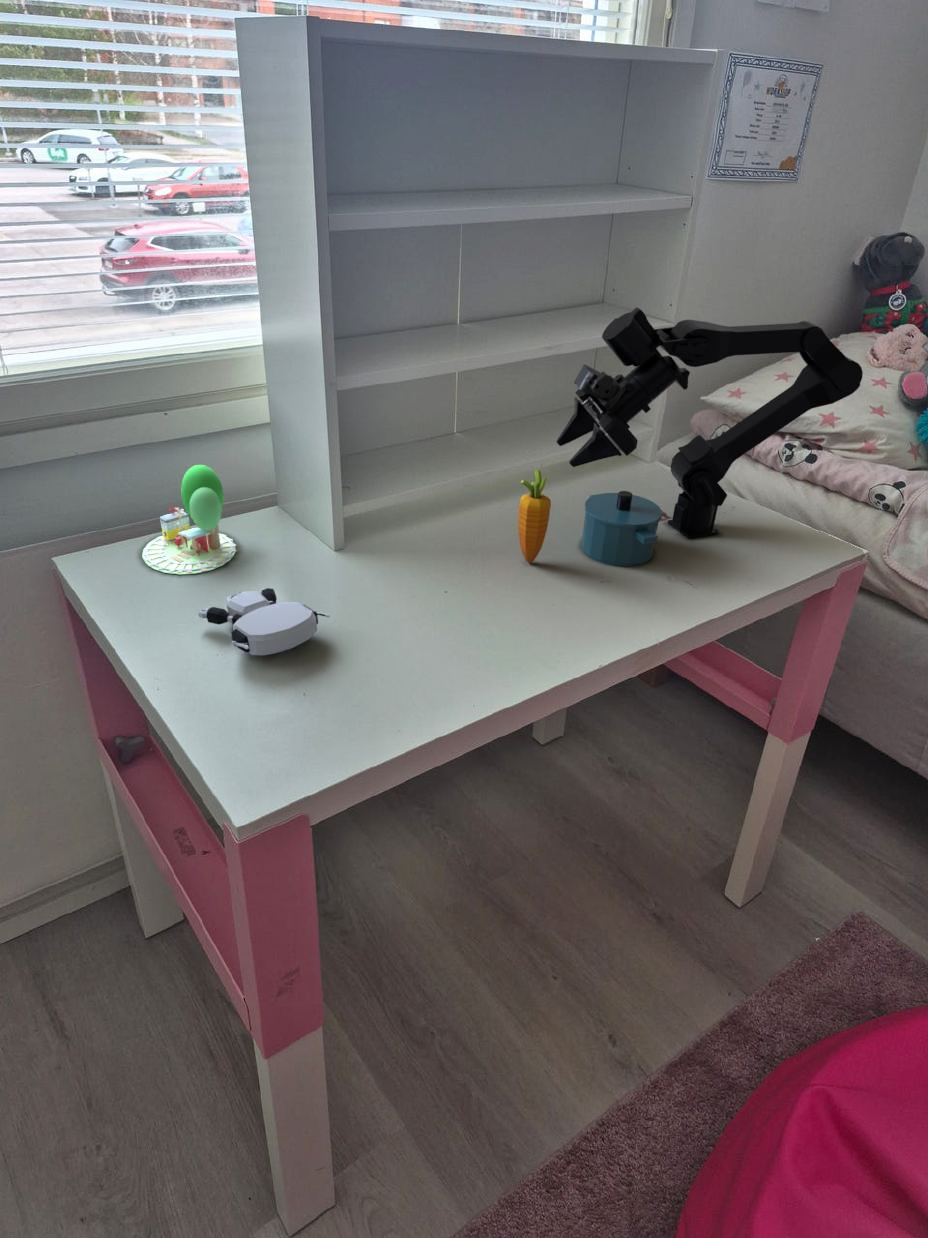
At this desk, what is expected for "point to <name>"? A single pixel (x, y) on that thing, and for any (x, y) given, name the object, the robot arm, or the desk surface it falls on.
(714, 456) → the robot arm
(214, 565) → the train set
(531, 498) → the carrot
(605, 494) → the pot lid
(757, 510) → the desk surface
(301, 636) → the robot toy
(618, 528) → the pot
